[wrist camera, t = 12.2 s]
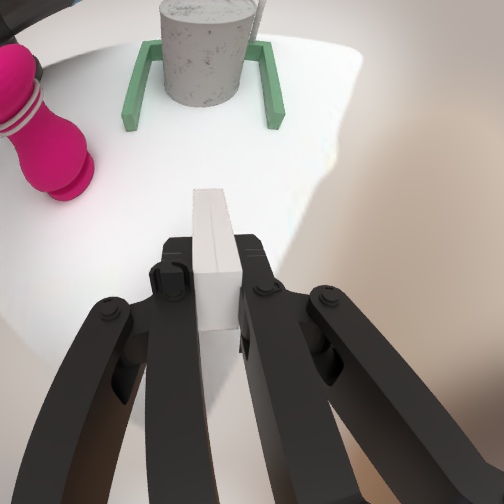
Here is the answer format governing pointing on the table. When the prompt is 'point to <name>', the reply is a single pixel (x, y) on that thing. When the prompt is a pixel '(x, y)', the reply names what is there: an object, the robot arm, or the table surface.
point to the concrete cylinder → (204, 48)
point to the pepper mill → (40, 130)
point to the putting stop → (253, 52)
